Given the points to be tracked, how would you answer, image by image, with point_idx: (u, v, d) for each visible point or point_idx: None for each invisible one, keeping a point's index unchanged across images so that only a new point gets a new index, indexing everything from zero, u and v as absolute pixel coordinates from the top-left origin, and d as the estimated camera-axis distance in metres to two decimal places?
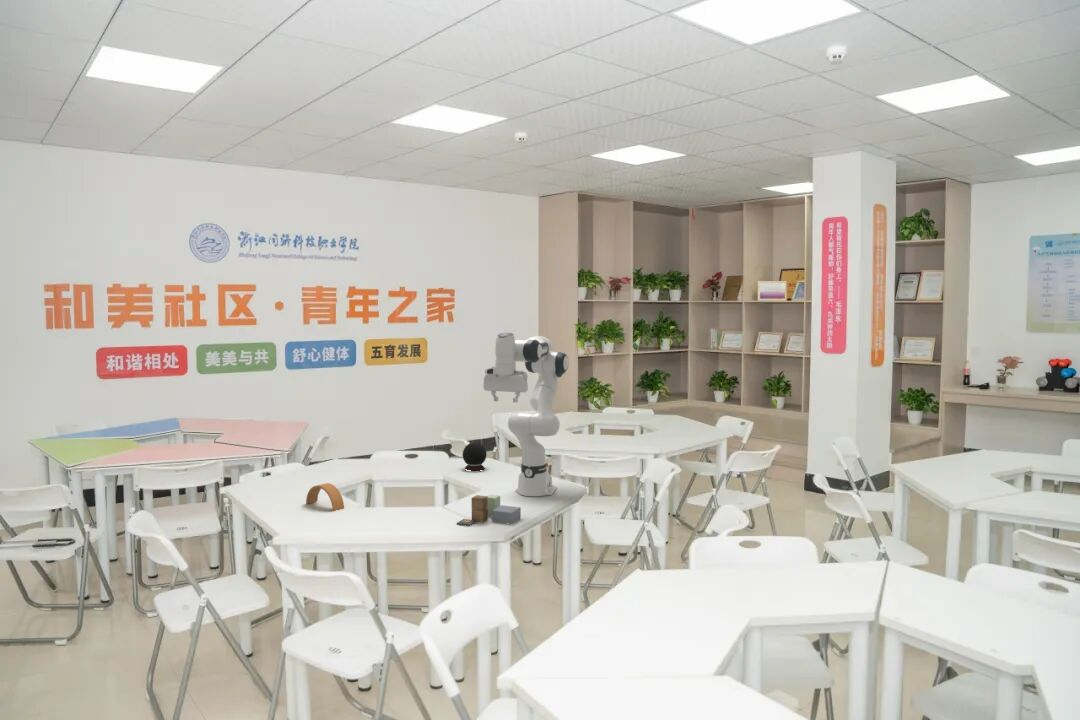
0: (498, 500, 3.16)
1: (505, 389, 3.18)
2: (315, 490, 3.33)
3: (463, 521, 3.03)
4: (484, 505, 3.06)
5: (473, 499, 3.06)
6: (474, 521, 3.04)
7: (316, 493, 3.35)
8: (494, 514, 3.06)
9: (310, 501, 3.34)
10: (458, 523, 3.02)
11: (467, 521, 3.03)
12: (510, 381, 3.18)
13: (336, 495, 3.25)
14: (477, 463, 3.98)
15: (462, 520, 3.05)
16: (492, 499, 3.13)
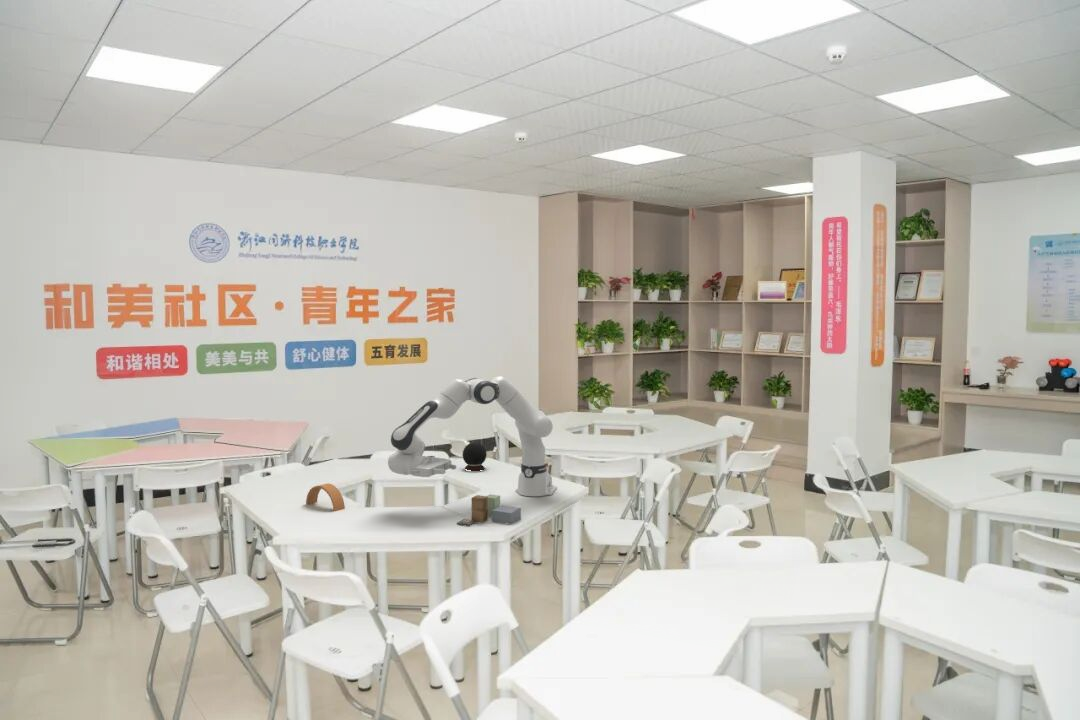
0: (498, 500, 3.16)
1: None
2: (315, 490, 3.32)
3: (463, 521, 3.03)
4: (484, 505, 3.06)
5: (473, 499, 3.06)
6: (474, 521, 3.04)
7: (316, 493, 3.35)
8: (494, 514, 3.06)
9: (310, 501, 3.33)
10: (458, 523, 3.02)
11: (467, 521, 3.03)
12: None
13: (336, 495, 3.25)
14: (477, 463, 3.98)
15: (462, 520, 3.05)
16: (492, 499, 3.13)
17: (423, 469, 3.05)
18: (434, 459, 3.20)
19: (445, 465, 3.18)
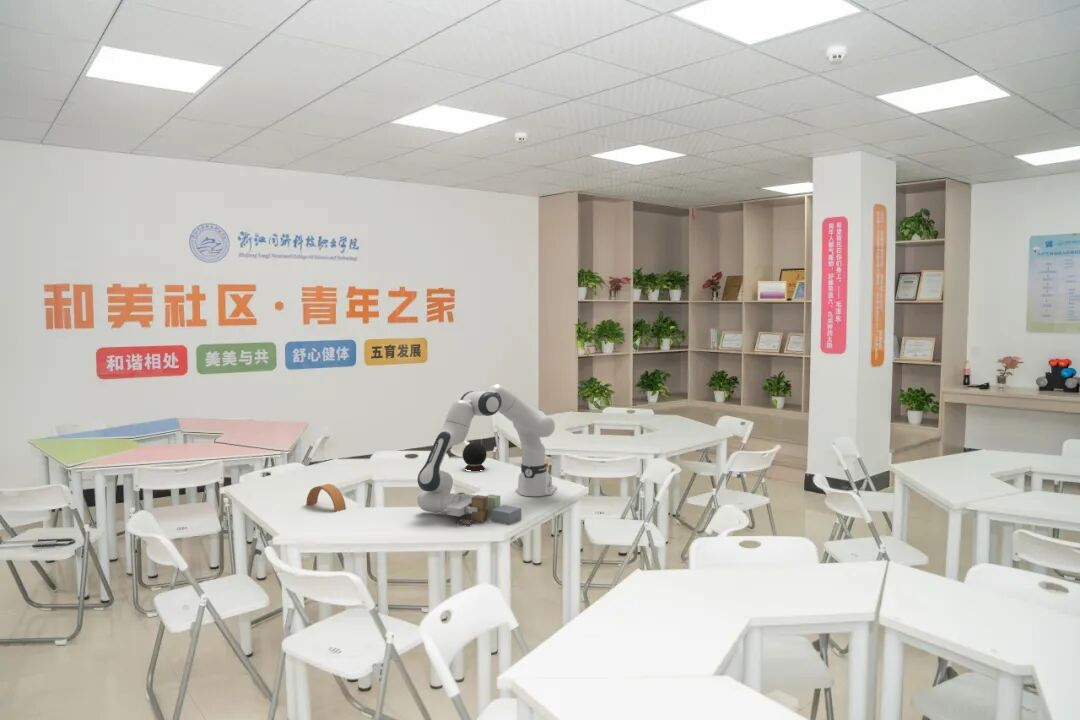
0: (498, 500, 3.16)
1: None
2: (315, 491, 3.31)
3: (463, 521, 3.03)
4: (484, 505, 3.06)
5: (473, 499, 3.05)
6: (474, 521, 3.04)
7: (316, 494, 3.33)
8: (493, 513, 3.06)
9: (310, 502, 3.32)
10: (458, 523, 3.02)
11: (467, 521, 3.03)
12: None
13: (337, 496, 3.24)
14: (477, 463, 3.98)
15: (462, 520, 3.05)
16: (492, 499, 3.13)
17: (455, 508, 3.01)
18: (464, 496, 3.16)
19: None
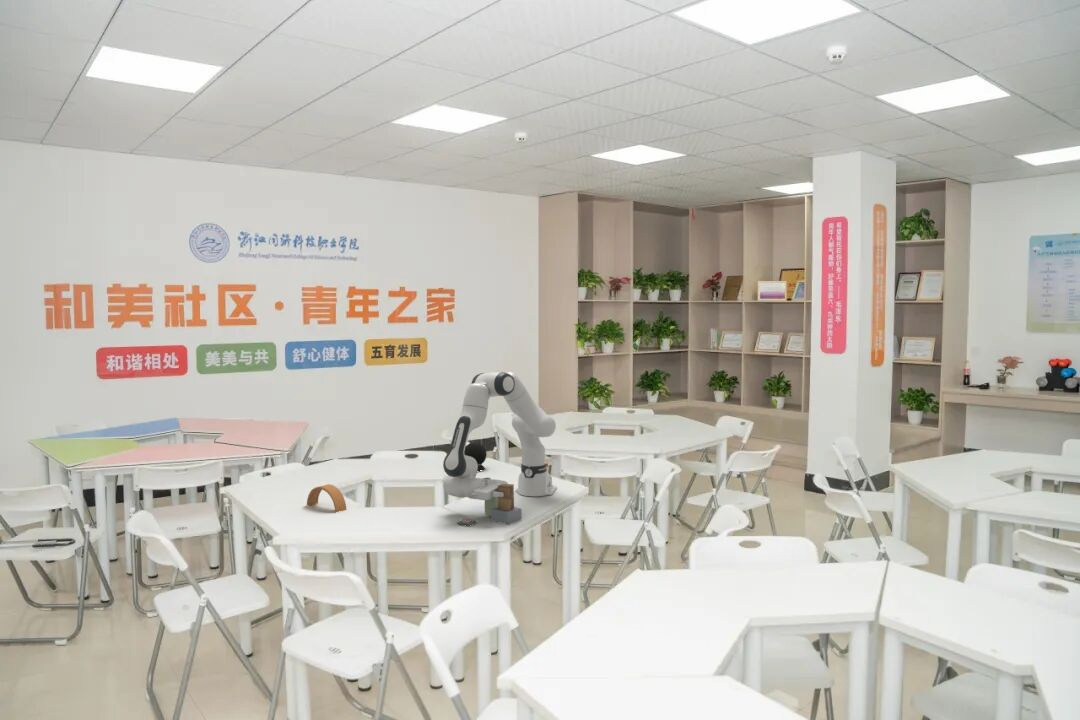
0: None
1: None
2: (316, 491, 3.30)
3: (463, 521, 3.03)
4: (510, 493, 3.06)
5: (499, 487, 3.06)
6: (474, 521, 3.04)
7: (317, 494, 3.33)
8: (493, 513, 3.07)
9: (311, 503, 3.31)
10: (458, 523, 3.02)
11: (467, 521, 3.03)
12: None
13: (338, 496, 3.23)
14: (477, 463, 3.98)
15: (462, 520, 3.05)
16: (492, 499, 3.13)
17: (482, 492, 3.01)
18: (490, 481, 3.16)
19: None
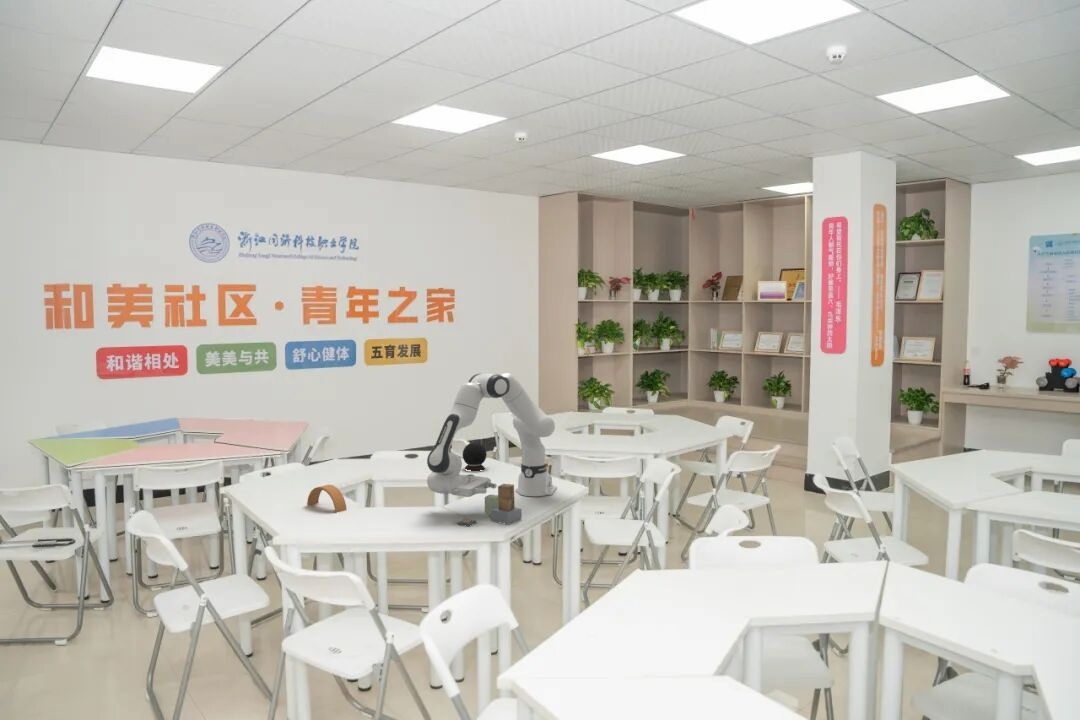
0: None
1: None
2: (316, 492, 3.30)
3: (463, 521, 3.03)
4: (510, 494, 3.06)
5: (499, 488, 3.06)
6: (474, 521, 3.04)
7: (317, 495, 3.32)
8: (493, 513, 3.07)
9: (311, 503, 3.31)
10: (458, 523, 3.02)
11: (467, 521, 3.03)
12: None
13: (338, 496, 3.23)
14: (477, 463, 3.98)
15: (462, 520, 3.05)
16: (492, 499, 3.13)
17: (464, 489, 3.04)
18: (474, 478, 3.19)
19: (485, 484, 3.17)
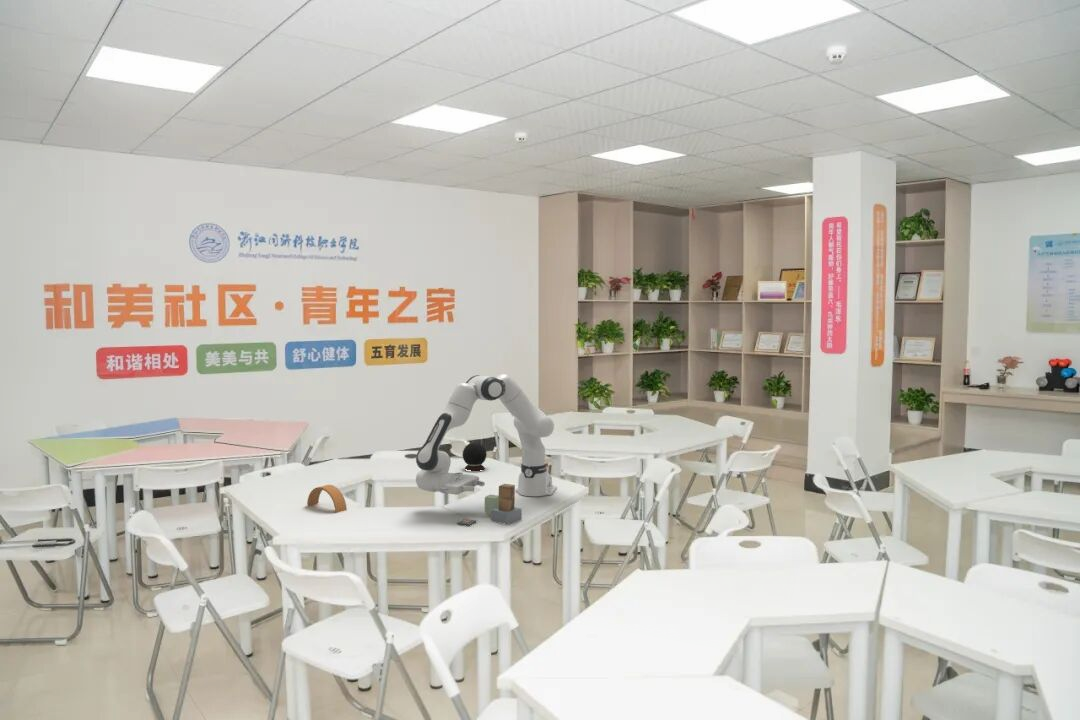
0: (498, 500, 3.16)
1: None
2: (316, 492, 3.30)
3: (463, 521, 3.03)
4: (511, 494, 3.06)
5: (500, 487, 3.06)
6: (474, 521, 3.04)
7: (317, 495, 3.32)
8: (493, 513, 3.07)
9: (311, 503, 3.31)
10: (458, 523, 3.02)
11: (467, 521, 3.03)
12: None
13: (338, 496, 3.22)
14: (477, 463, 3.98)
15: (462, 520, 3.05)
16: (492, 499, 3.13)
17: (452, 487, 3.06)
18: (462, 476, 3.21)
19: (473, 482, 3.19)
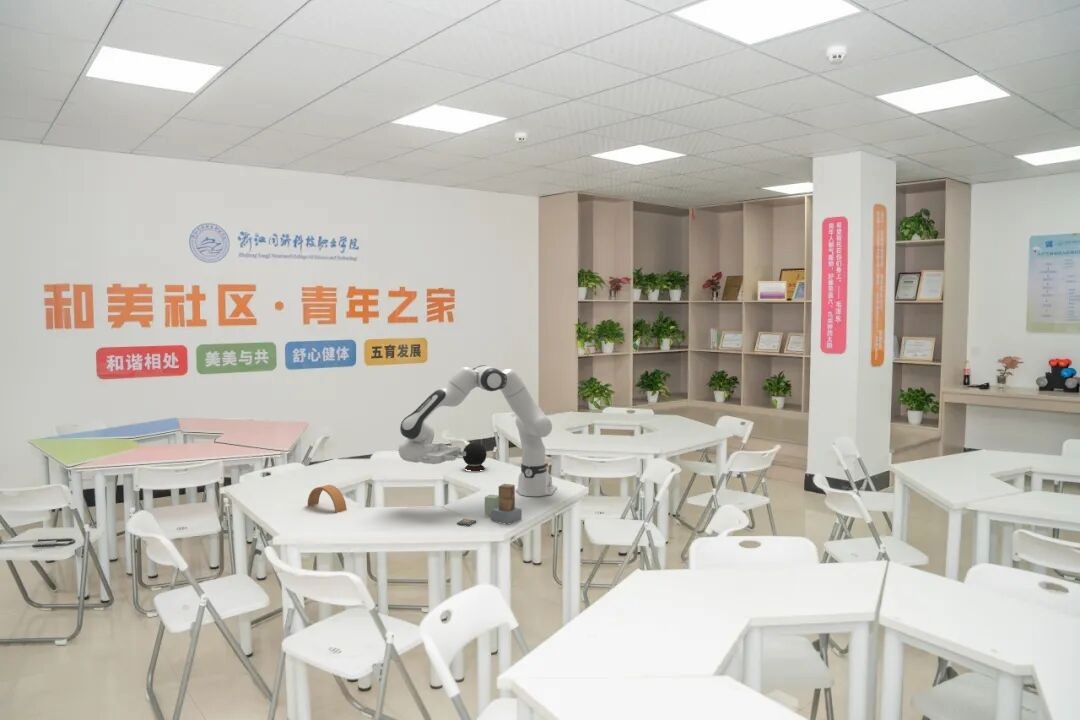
0: (498, 500, 3.16)
1: None
2: (317, 492, 3.30)
3: (463, 521, 3.03)
4: (511, 494, 3.06)
5: (500, 488, 3.06)
6: (474, 521, 3.04)
7: (317, 495, 3.32)
8: (493, 513, 3.07)
9: (311, 503, 3.31)
10: (458, 523, 3.02)
11: (467, 521, 3.03)
12: None
13: (338, 497, 3.22)
14: (477, 463, 3.98)
15: (462, 520, 3.05)
16: (492, 499, 3.13)
17: (434, 456, 3.11)
18: (444, 446, 3.27)
19: (455, 452, 3.24)
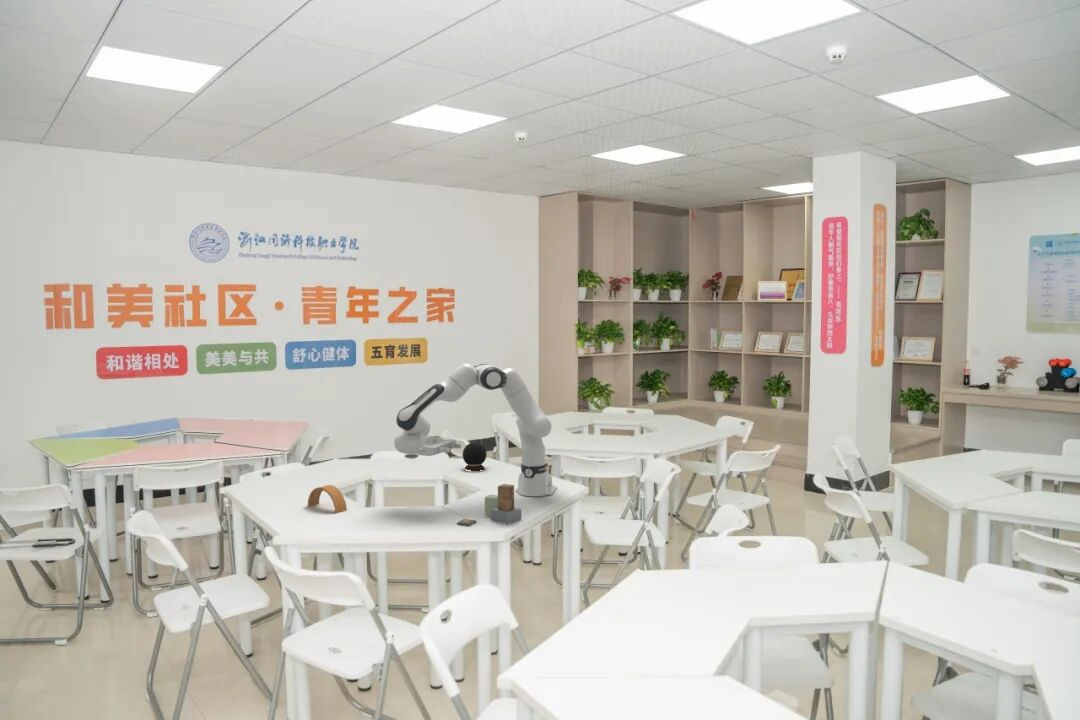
0: None
1: None
2: (317, 492, 3.29)
3: (463, 521, 3.03)
4: (510, 494, 3.06)
5: (499, 487, 3.06)
6: (474, 521, 3.04)
7: (318, 495, 3.32)
8: (492, 513, 3.07)
9: (312, 503, 3.31)
10: (458, 523, 3.02)
11: (467, 521, 3.03)
12: None
13: (338, 497, 3.22)
14: (477, 463, 3.98)
15: (462, 520, 3.05)
16: (492, 499, 3.13)
17: (428, 448, 3.13)
18: (439, 439, 3.28)
19: (450, 444, 3.26)
